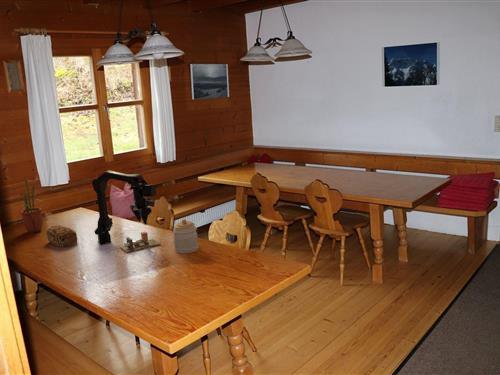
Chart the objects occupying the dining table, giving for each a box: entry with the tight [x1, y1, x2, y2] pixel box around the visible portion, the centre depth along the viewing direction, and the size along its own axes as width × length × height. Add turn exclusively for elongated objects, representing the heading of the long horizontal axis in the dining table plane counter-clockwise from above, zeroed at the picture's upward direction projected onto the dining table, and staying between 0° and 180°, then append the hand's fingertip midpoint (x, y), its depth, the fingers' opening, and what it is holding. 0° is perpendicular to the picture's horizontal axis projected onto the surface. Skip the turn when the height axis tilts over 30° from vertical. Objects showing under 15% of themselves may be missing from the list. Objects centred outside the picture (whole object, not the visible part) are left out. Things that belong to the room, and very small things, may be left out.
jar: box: [172, 218, 199, 254], centre depth 265 cm, size 13×13×18 cm
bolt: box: [123, 230, 149, 247], centre depth 275 cm, size 13×3×6 cm, turn 122°
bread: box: [45, 225, 78, 248], centre depth 294 cm, size 19×11×10 cm, turn 49°
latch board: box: [120, 236, 162, 254], centre depth 276 cm, size 20×11×6 cm, turn 122°
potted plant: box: [19, 179, 44, 234], centre depth 320 cm, size 17×16×35 cm
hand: (142, 223), depth 278 cm, fingers open, 9 cm apart
